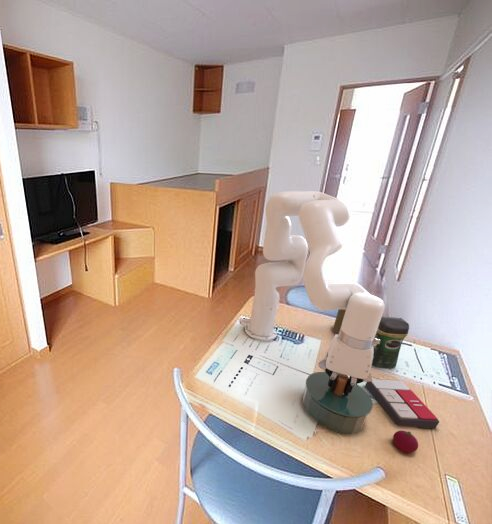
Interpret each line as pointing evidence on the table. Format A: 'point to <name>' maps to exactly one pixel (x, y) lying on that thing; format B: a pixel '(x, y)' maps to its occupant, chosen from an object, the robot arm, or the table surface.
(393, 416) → the calculator
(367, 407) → the lid
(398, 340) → the coffee jar
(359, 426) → the pot
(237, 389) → the table surface
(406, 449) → the beet
